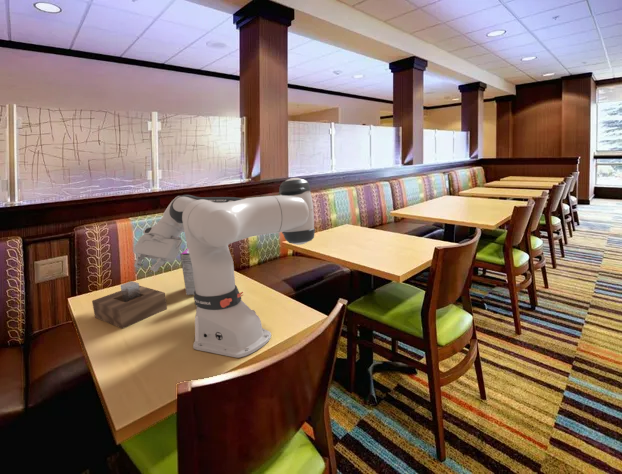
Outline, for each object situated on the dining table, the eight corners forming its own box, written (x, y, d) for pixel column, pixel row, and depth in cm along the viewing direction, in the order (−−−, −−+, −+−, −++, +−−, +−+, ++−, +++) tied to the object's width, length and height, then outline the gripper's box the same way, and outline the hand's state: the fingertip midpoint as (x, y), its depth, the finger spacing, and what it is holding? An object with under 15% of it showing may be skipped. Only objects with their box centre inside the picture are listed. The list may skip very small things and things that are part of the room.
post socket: (167, 308, 126) (164, 292, 124) (122, 328, 113) (119, 310, 111) (139, 300, 134) (137, 284, 133) (95, 317, 121) (91, 300, 120)
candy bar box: (194, 284, 148) (189, 245, 144) (206, 284, 147) (202, 245, 144) (185, 295, 137) (179, 253, 133) (198, 295, 137) (193, 253, 133)
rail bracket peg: (142, 310, 125) (138, 283, 123) (131, 315, 122) (127, 287, 120) (136, 308, 127) (131, 281, 125) (125, 312, 124) (120, 285, 122)
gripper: (189, 242, 129) (170, 277, 124) (154, 237, 140) (135, 269, 134) (177, 232, 124) (156, 268, 119) (142, 228, 135) (121, 261, 130)
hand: (144, 268), depth 127 cm, fingers open, 8 cm apart
